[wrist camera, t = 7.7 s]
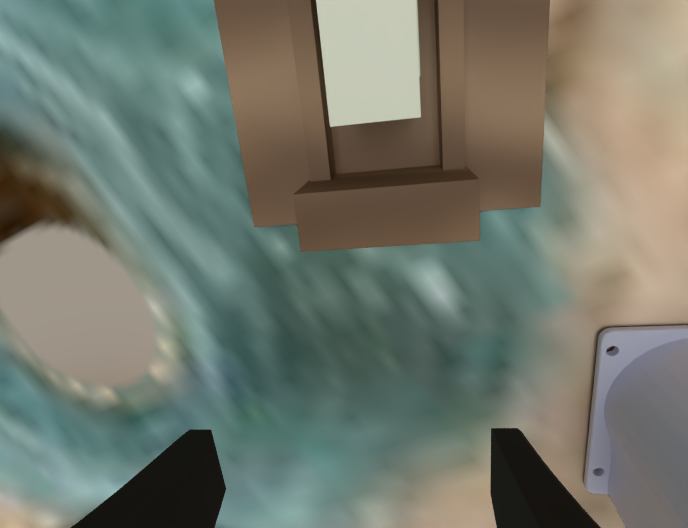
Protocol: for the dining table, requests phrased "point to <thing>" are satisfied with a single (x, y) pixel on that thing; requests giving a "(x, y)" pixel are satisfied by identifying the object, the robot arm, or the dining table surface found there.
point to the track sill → (390, 125)
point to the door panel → (370, 60)
